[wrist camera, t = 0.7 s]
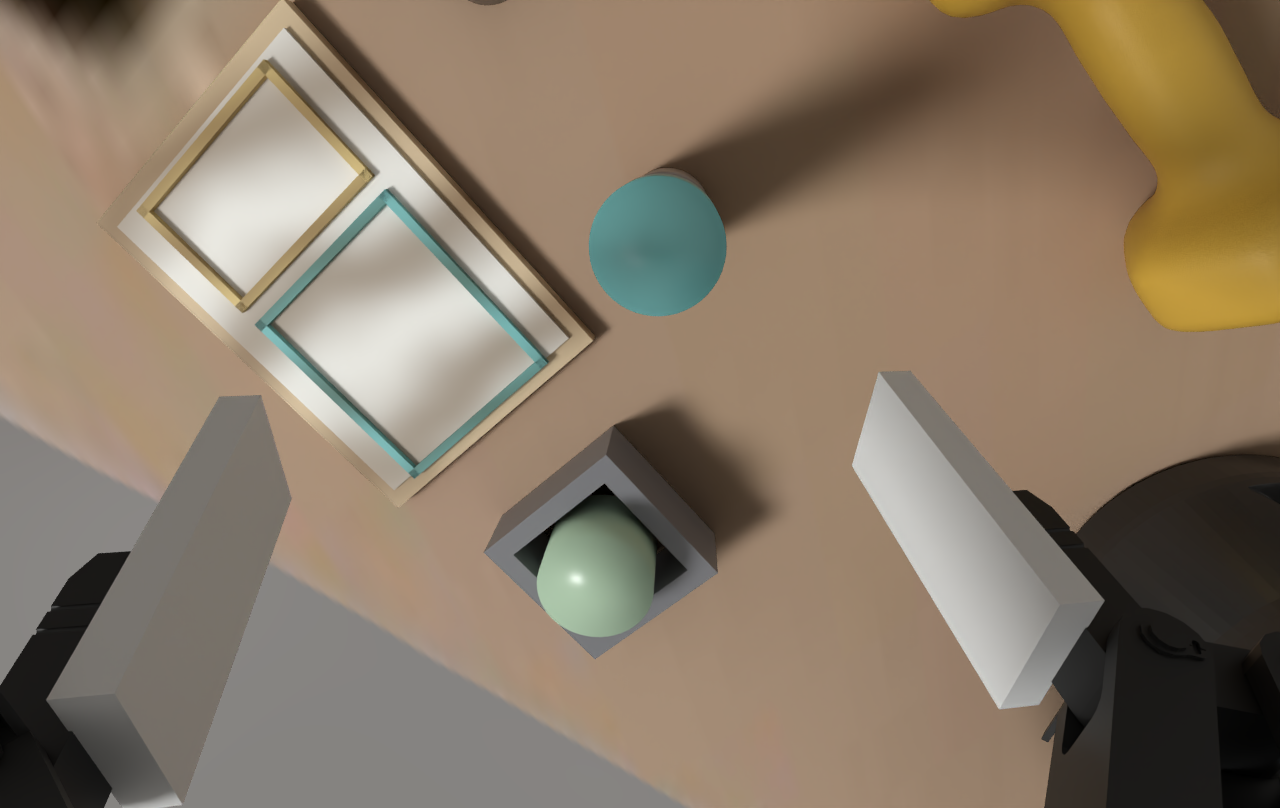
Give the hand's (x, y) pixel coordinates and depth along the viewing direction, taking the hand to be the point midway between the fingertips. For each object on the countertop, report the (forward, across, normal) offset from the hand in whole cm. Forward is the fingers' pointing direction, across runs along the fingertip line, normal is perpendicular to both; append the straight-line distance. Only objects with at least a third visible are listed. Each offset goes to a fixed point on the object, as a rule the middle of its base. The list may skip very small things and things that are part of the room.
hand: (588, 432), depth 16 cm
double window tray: (+19, +9, +5) cm, 21 cm away
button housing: (+13, -2, +16) cm, 21 cm away
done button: (+12, -2, +15) cm, 19 cm away
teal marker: (+17, -5, +1) cm, 17 cm away
